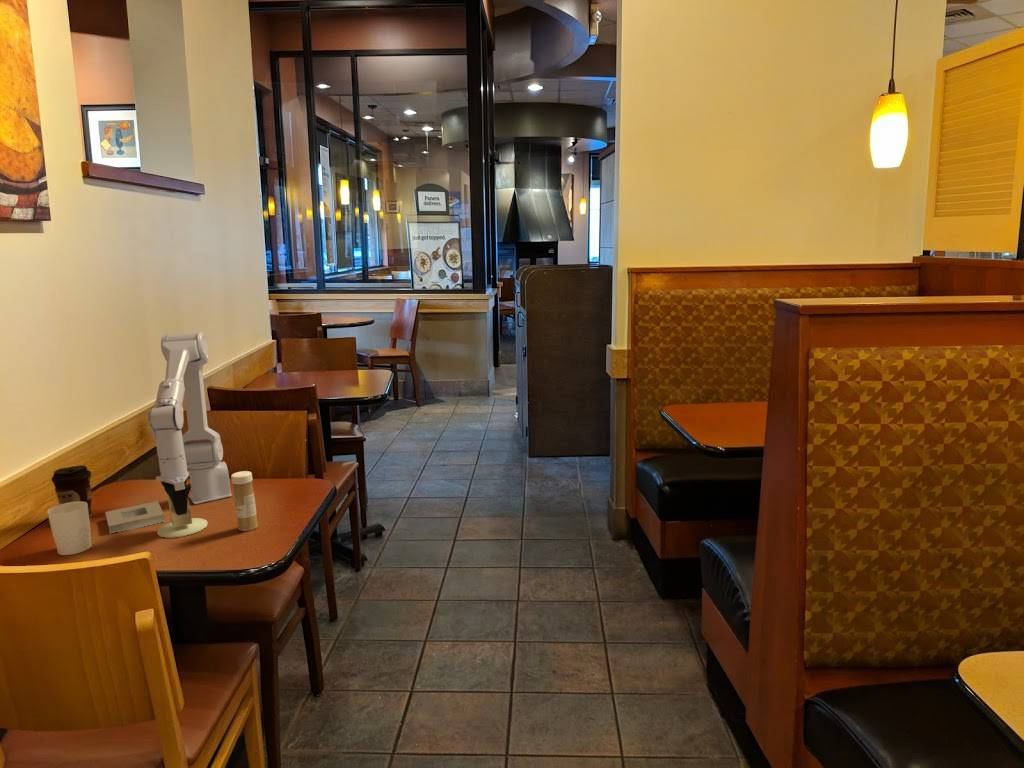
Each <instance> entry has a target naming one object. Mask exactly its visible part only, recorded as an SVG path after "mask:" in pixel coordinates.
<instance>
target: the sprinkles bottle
mask: <svg viewBox="0 0 1024 768" xmlns="http://www.w3.org/2000/svg"><path fill="white" fill-rule="evenodd" d="M230 479H231V484H232V486H233V493H234V503H235V511H236V517H237V524H238V525H237V530H239V531H241V532H251V531H253V530H255V529H257V528H258V527H259V522H258V518H257V507H256V499H255V492H254V488H253V473H252V472H251V471H248V470H244V471H237V472H234V473H232V474H231V476H230Z"/></svg>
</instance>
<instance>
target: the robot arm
mask: <svg viewBox="0 0 1024 768" xmlns="http://www.w3.org/2000/svg"><path fill="white" fill-rule="evenodd" d="M160 350H161V353H162V356H163V357H164V360H165V362H166V365H165V366H166V368H165V379H164V380H162V381H161V382H160V383H159V385H158V388H157V389H158V390H157V393H156V398H155V402H154V406H153V407H152V408H151V409H149V410H148V412H147V413H148V414H147V423H148V424H147V425H148V427H149V428H148V429H149V430H150V432H151V436H152V438H153V440H154V441H155V446H156V453H157V457H158V465H159V472H160V475H157V476H155V480H156V482H160V483H161V485H162V487H163V488H164V489H163V490H164V492H165V493H166V495H167V494H168V495H169V497H170V498H171V501H172V503H173V506H174V509H175V512H176V514H177V515H182V514H186V513H187V503H188V499H189V498H190V500H191V502H192V503H193V505H198V504H202V503H207V502H211V501H216V500H221V499H225V498H230V497H232V496H233V494H232V490H231V482H230V474H229V470H228V466H227V463H226V462H225V461H222V460H223V457H224V448H223V443H222V441H221V435H220V434H219V432H218V431H215V430H213V429H212V428H210V427H209V424H208V415H207V413H208V412H207V404H206V403H207V402H206V392H205V385H204V374H203V372H204V371H203V370H204V365H206V364H208V363H209V355H210V354H209V348H208V340H207V338H206V336H205V334H204V333H203V332H202V331H198V332H189V333H175V334H166V333H165V334H163V336H162V337H161V340H160ZM182 382H183V383H182ZM184 398H185V400H184ZM184 401H185V409H186V410H185V411H186V418H187V420H186V421H187V431H186V432H184V433H183V432H182V428H183V426H184V407H183V402H184ZM188 477H189V481H190V483H188V484H187V482H188ZM190 492H191V494H190Z"/></svg>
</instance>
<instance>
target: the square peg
mask: <svg viewBox="0 0 1024 768" xmlns="http://www.w3.org/2000/svg"><path fill="white" fill-rule="evenodd" d="M166 496H167V501H168V503H167V504H168V509H169V513H170V521H171V522H172V525H173V527H174V528H175V527H179V526H184V525H188V524H192V519H191V518H192V512H191V508H190V507H191V506H190V500H189V498H188V503H187V513H186V514H182V515H177V514H176V512H175V509H174V506H173V503H172V501H171V498H170V497H169V495H168V494H167V493H166ZM171 522H170V523H171Z"/></svg>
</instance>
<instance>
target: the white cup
mask: <svg viewBox="0 0 1024 768" xmlns="http://www.w3.org/2000/svg"><path fill="white" fill-rule="evenodd" d="M46 513H47V517H48V522H49V525H50V530H51V534H52V537H53V540H54V543H55V545H56V549H57V554H58V555H61V556H71V555H77V554H80V553H83V552H85V551H87V550H90V548H91V547H92V536H91V535H92V531H91V521H90V518H89V513H88V504H87V503H86V502H82V501H77V502H69V503H64V504H57V505H56V506H52V507H51V508H49V509H47V511H46Z"/></svg>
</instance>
